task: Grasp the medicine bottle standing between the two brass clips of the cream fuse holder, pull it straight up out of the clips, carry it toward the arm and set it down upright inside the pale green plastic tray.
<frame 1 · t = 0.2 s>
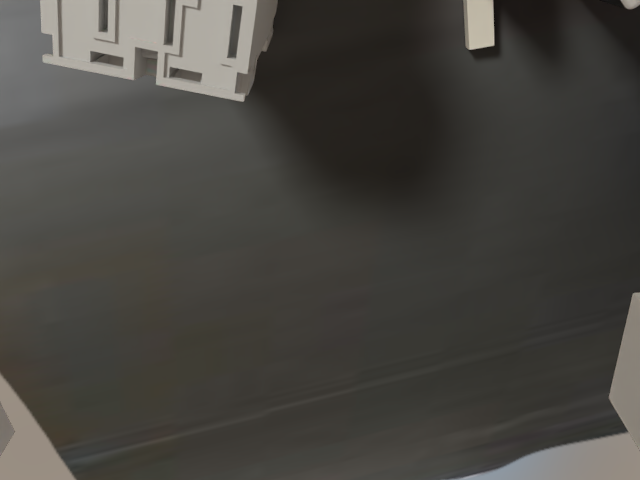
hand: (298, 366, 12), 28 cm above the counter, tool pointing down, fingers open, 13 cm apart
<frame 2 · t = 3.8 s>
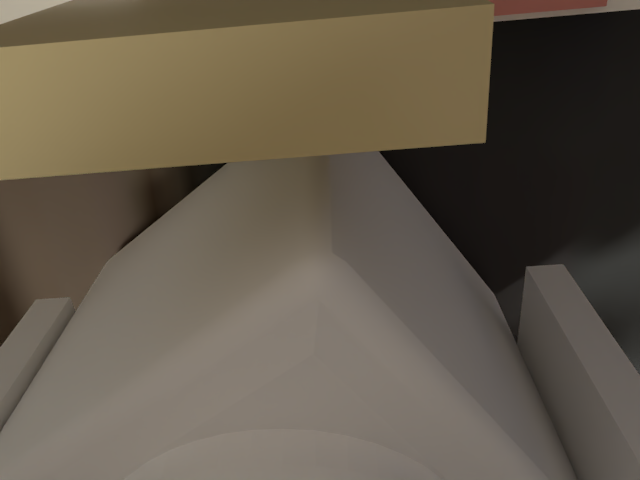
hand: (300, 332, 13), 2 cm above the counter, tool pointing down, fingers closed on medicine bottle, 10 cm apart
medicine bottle: (303, 274, 15), on the counter, touching gripper
fuse holder: (303, 278, 14), on the counter
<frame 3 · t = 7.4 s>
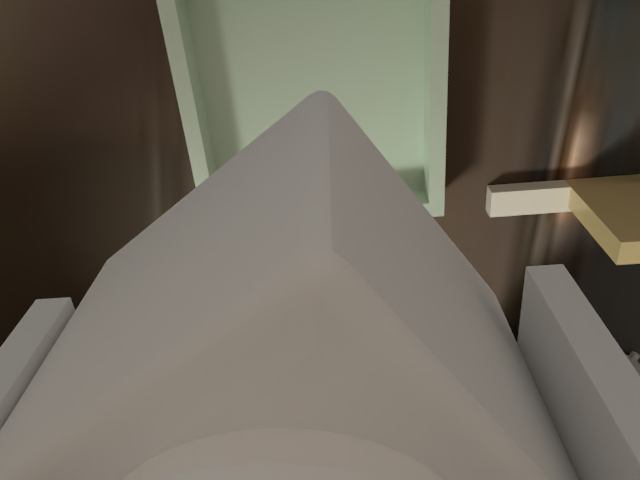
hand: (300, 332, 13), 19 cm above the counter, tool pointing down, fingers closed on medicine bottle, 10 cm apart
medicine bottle: (303, 273, 15), point 17 cm above the counter, touching gripper
fuse holder: (629, 66, 29), on the counter
tray: (313, 92, 29), on the counter
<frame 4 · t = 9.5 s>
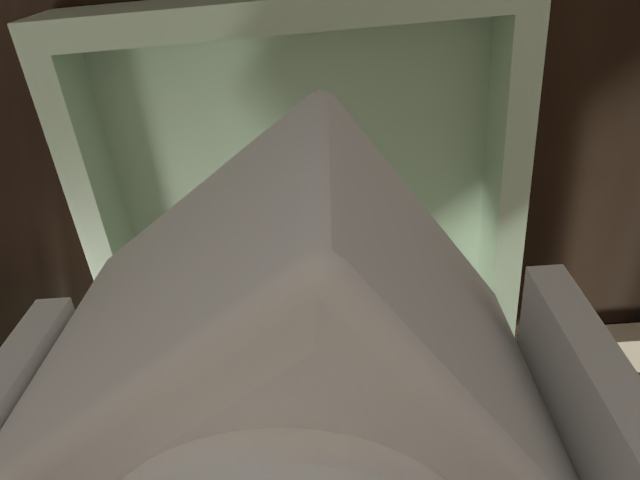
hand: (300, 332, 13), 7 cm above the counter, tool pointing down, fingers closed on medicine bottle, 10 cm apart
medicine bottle: (303, 273, 15), point 4 cm above the counter, touching gripper
tray: (304, 200, 19), on the counter
when the fingers open (5 cm above the counter, at t = 11.0 s): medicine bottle drops 2 cm, resting on tray.
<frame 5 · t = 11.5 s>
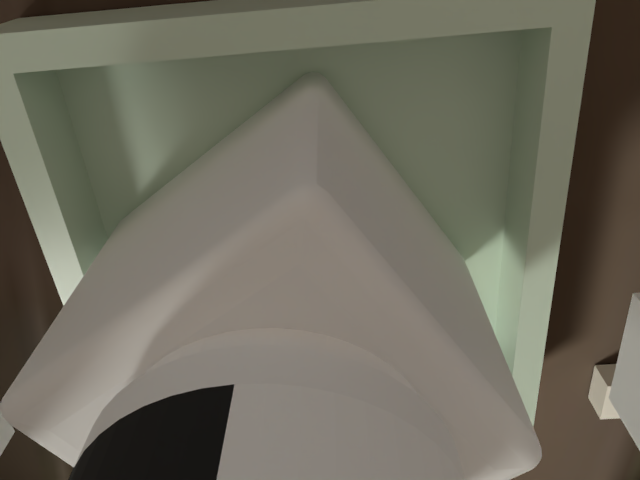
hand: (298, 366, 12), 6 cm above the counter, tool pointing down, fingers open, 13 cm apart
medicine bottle: (295, 238, 16), resting on tray
tray: (305, 229, 17), on the counter
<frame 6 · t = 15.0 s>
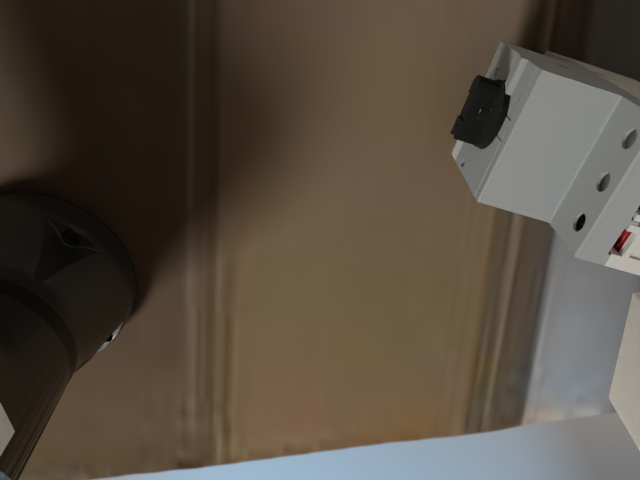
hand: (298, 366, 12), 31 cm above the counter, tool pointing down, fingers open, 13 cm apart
circuit breaker: (532, 105, 40), on the counter
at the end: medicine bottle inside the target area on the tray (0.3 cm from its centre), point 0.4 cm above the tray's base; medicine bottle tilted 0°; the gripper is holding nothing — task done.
